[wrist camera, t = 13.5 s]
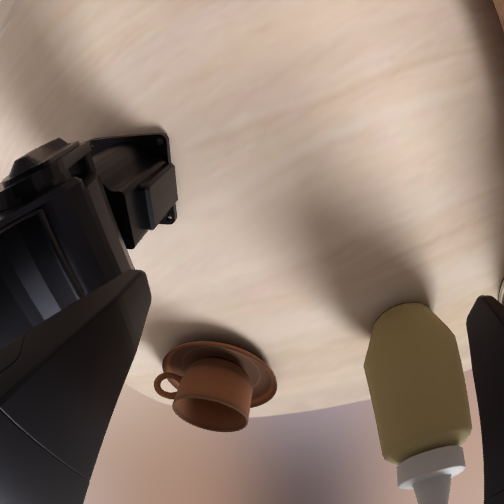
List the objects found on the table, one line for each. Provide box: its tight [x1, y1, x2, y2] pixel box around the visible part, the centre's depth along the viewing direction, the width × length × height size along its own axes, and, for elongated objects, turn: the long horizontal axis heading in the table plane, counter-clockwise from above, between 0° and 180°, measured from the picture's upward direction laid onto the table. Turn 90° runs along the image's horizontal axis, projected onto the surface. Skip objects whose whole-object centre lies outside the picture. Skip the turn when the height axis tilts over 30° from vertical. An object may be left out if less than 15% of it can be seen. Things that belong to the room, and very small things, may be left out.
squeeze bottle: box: [364, 303, 472, 504], centre depth 17 cm, size 8×8×18 cm
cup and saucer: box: [154, 341, 277, 432], centre depth 29 cm, size 12×12×6 cm
